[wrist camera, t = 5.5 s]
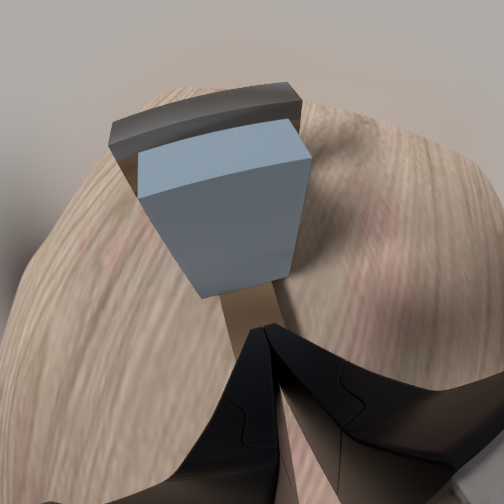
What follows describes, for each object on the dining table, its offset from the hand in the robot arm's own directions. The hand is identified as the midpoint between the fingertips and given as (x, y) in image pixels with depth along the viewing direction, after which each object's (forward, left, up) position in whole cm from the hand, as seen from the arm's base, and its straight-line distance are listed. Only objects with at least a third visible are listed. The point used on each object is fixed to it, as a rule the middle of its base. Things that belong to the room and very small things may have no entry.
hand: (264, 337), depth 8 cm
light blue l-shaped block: (+4, -8, -6) cm, 10 cm away
